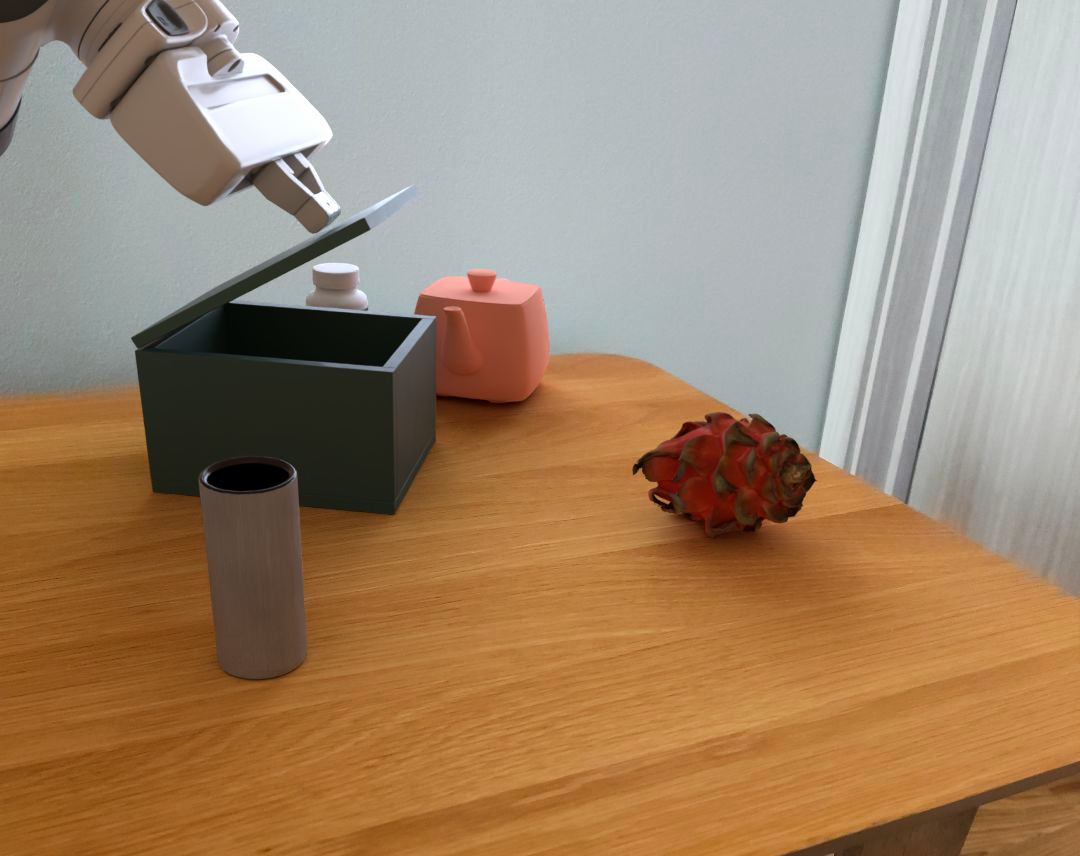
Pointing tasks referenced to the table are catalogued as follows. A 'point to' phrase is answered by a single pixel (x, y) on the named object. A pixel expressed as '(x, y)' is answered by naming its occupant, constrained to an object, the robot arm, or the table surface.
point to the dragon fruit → (729, 473)
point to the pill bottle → (337, 287)
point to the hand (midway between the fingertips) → (329, 223)
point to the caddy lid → (278, 265)
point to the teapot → (487, 336)
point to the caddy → (294, 399)
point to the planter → (254, 565)
